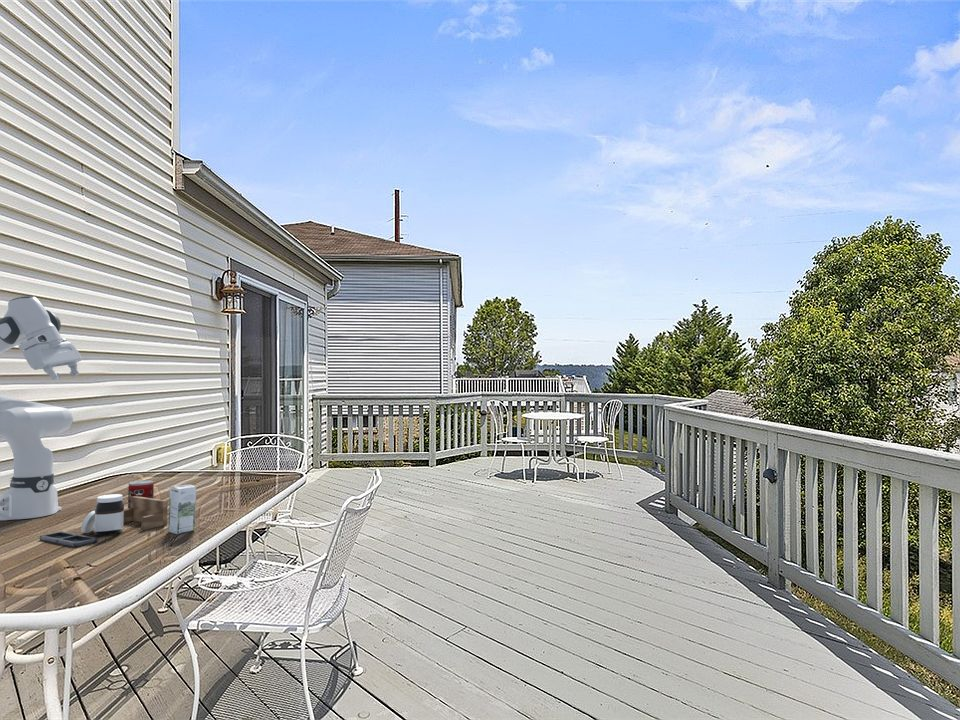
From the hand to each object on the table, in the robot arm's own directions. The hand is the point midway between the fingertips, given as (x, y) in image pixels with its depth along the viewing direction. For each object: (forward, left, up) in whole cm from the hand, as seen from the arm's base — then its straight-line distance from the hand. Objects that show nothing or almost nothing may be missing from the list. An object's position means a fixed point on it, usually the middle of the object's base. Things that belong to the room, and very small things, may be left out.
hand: (66, 377), depth 190 cm
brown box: (+23, +11, -50) cm, 56 cm away
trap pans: (+23, -11, -50) cm, 56 cm away
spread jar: (+23, -1, -50) cm, 55 cm away
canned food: (+6, +23, -50) cm, 55 cm away
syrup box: (+44, +11, -50) cm, 68 cm away
